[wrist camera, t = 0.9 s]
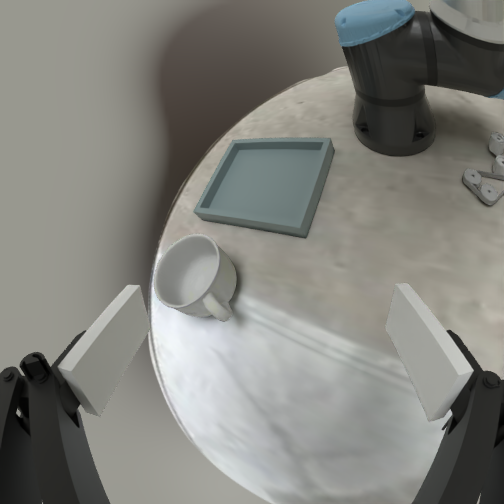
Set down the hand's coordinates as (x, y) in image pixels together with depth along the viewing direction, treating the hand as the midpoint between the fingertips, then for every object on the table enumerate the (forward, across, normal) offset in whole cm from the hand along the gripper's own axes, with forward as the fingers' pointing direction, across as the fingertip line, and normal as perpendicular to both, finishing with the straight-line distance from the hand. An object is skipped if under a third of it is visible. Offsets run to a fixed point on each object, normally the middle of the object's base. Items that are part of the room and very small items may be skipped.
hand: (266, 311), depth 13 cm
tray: (+35, -1, +1) cm, 35 cm away
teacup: (+24, -8, -13) cm, 28 cm away
